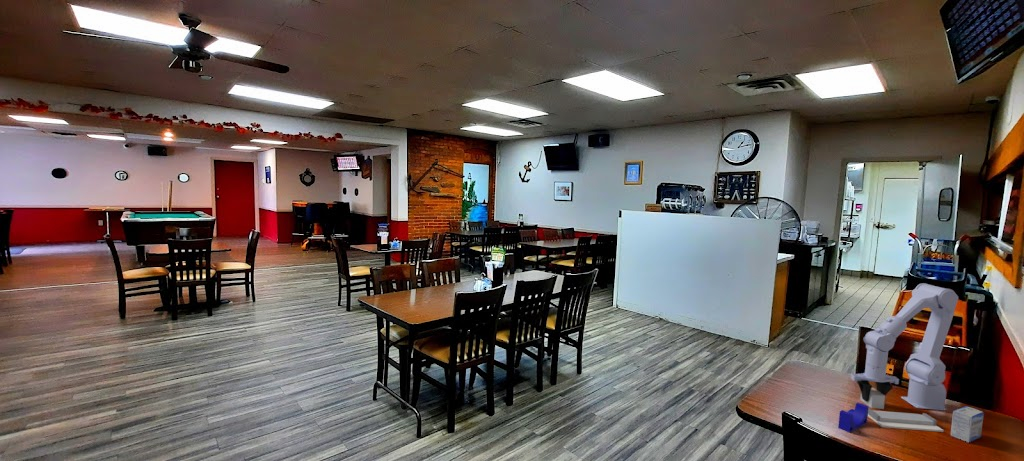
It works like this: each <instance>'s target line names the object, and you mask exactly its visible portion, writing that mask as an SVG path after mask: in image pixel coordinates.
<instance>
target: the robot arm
mask: <svg viewBox="0 0 1024 461" xmlns="http://www.w3.org/2000/svg"><path fill="white" fill-rule="evenodd" d="M958 300H959V296H958V294H956V292H955V291H954V290H953V289H951V288H945V287H940V286H937V285H936V286H935V285H933V284H928V283H926V282H925V283H924V282H923V283H919V284H917V286H916V287H915V288H914V289H913V290H911V297H910V299H909V300H908V301H907V302H906V303H905V304H904V306H903V307H902V308H901V309H900V310H899V312H898V313H897V314H895V315H893V316H892V315H891V316H887V318H885V319H884V321H883V322H882V323H881V324H880V325H879V326H878V327H876V329H875V330H870V331H868V332H866V334H865V336H864V337H863V342H864V344H865V349H866V355H865V356H866V357H865V358H866V359H865V367H864V368H865V369H864V372H863V373H862V372H861V373H850V380H852V381H853V382H856V383H857V384H858V387H859V390H860V395H861V394H862V399H863V400H865V401H868V400H869V394H870V391H871V388H874V387H873V385H871V384H870V382H872V383H875V386H876V390H877V391H879V392H881V393H882V394H883V395H885V397H886V396H887V395H888V393H889V392H890V391H891V390H893V385H892V384H895V385H899V383H900V379H899V378H898V377H897V376H891V375H887V367H888V366H887V365H888V355H889V351H890V350H892V349H893V348H894V346H895V342H896V341H897V338H898V337H899V336H900V335H901V334H902V333H903V332H904V331H905V330H906V329H907V327H908V326H907V325H908V324H907V323H908V322H909V321H910V320H911V319H912V318H914V317H916V315H918V314H919V313H920V312H921V311H922V310H924V309H929V310H930V311H931V312H930V316H929V319H928V322H927V325H926V329H925V332H924V334H923V338H922V341H921V343H920V347H919V350H918V352H914V353H912V354H910V356H909V358H908V359H907V361H906V362H905V364H904V370H905V372H906V373H907V376H908V377H909V381H908V391H907V396H900V398H901V399H902V400H903V401H905V402H906V403H908V404H910V405H912V406H913V407H914V408H915V409H916V408H917V409H922V410H923V409H925V410H937V411H947V408H945V406H946V398H947V389H946V387H945V385H944V384H943V382H944V381H945V380H946V372H945V371H946V368H947V367H946V365H945V364H944V362H943V361H942V360H941V359H940V357H941V355H942V354H941V353H942V351H943V348H944V345H945V342H946V338H947V336H948V333H949V330H950V328H951V324H952V321H953V317H954V315H955V310H956V306H957V304H958Z"/></svg>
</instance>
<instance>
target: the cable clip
mask: <svg viewBox="0 0 1024 461" xmlns="http://www.w3.org/2000/svg"><path fill="white" fill-rule="evenodd" d="M868 409H870V407H869V406H868V405H866V404H863V403H861V402H856V403H855V407H854V409H853V408H850V409H849V410H847V411H846V410H843V409H842V410H839V416H838V417H839V418H838V426H837V427H838V429H839V430H841V431H844V432H846V433H850V432H853V431H855V430H856V429H858V428H860V427H863V426H864V425H866V424H868Z"/></svg>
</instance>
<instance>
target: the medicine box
mask: <svg viewBox="0 0 1024 461" xmlns="http://www.w3.org/2000/svg"><path fill="white" fill-rule="evenodd" d="M984 415H985V413H984V411H982V410H979V409H977V408H973V407H969V406H966V405H965V406H963V407H960V408H957V409H956V410H953V411H952V419H951V426H950V427H951V428H950V436H951V437H952V438H955V439H958V440H960V439H961V441H963V442H965V441H966V443H968V444H970V443H972V442H973V441H976V440H978V439H980V438H981V437H982V430H983V424H984V423H983V422H984V421H983V420H984ZM971 441H972V442H971ZM969 442H970V443H969Z"/></svg>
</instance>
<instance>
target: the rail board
mask: <svg viewBox="0 0 1024 461" xmlns="http://www.w3.org/2000/svg"><path fill="white" fill-rule="evenodd" d="M868 417H869V419H871V420H872V421H874V423H876V424H877V425H879V427H881V428H885V429H886V428H888V429H901V430H912V431H913V430H915V431H927V432H928V431H929V432H939V433H940V432H941V433H944V432H945V431H944V429H942V428H941V427H940V426H938V425H937V419H935V418H934V417H933V416H931V415H929V414H927V413H925V412H922V414H921V413H912V412H900V411H899V412H895V411H884V410H883V411H882V410H873V409H872V408H868Z"/></svg>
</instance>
